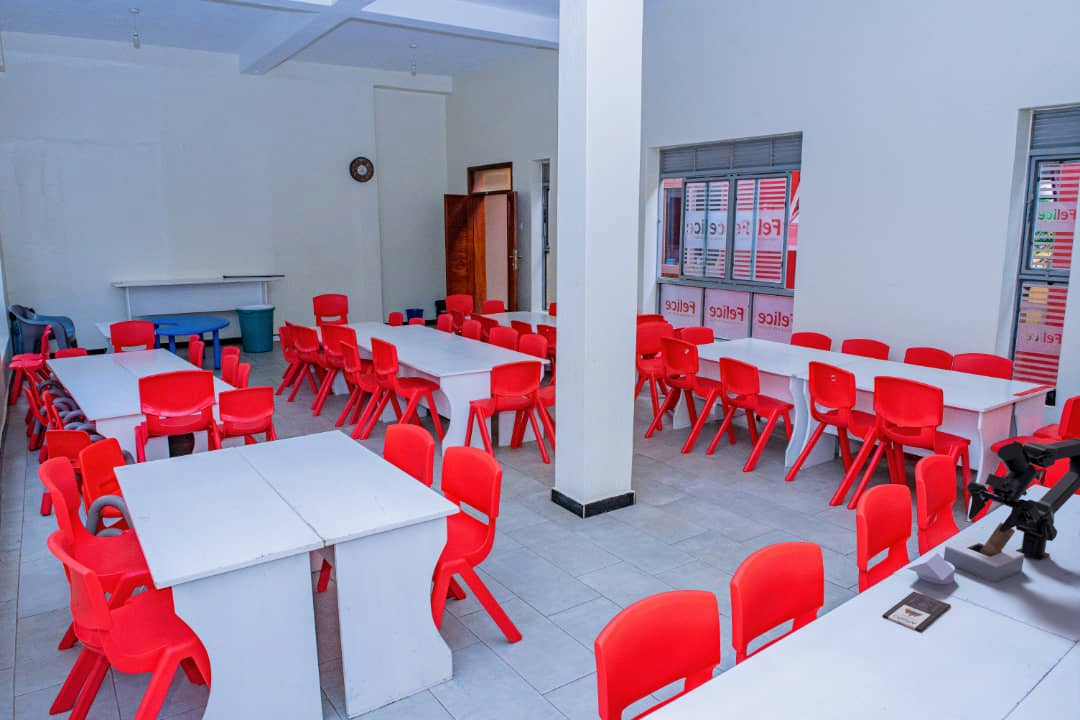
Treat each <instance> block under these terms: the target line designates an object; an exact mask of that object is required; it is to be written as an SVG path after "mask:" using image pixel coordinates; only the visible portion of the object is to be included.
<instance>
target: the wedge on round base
mask: <svg viewBox="0 0 1080 720" xmlns="http://www.w3.org/2000/svg"><path fill="white" fill-rule="evenodd" d="M906 569H907V570H910V571H913V572H915V573H916V575H917V576H918V577H919V578H920V579H922V580H924V581H926V582H930V583H933V584H938V583H939V584H940V585H947V583H949V584H951V582H952V583H953V582H954V578H955V571H956V567H954V566H953V565H952V564H951V563H949V562H947V561H945V560H944V557H942V555H940V554H939V553H938V552H937V553H933V554H930V555H927V556H924V557H919V558H918V559H916V560H915V561H914V562H912V563H911V565H909V566H908V567H907V568H906Z"/></svg>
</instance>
